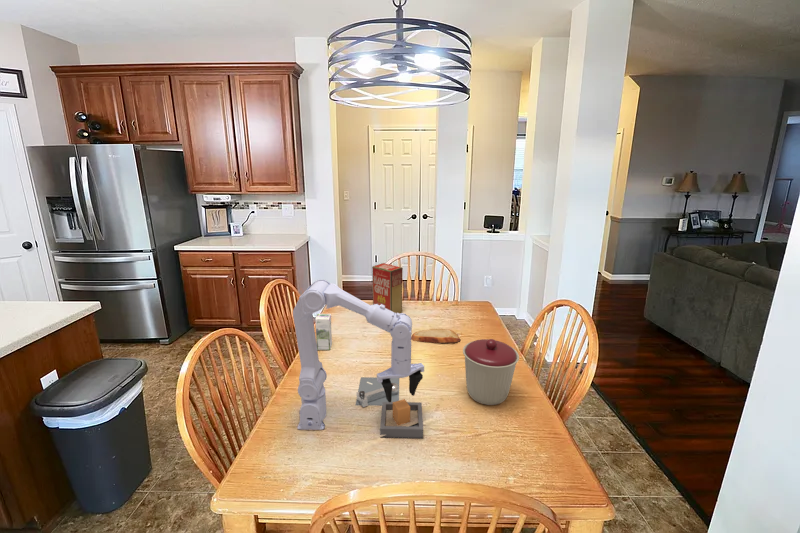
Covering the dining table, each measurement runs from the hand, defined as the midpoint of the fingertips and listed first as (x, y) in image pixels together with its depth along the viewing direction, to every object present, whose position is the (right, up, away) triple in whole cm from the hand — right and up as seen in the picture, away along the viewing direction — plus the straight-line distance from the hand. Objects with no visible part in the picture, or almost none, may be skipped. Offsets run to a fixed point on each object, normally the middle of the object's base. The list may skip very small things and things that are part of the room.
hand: (400, 396), depth 113 cm
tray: (0, -9, +2) cm, 9 cm away
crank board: (-7, -5, +17) cm, 19 cm away
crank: (-7, -5, +13) cm, 15 cm away
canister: (+30, -5, +17) cm, 34 cm away
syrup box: (-32, +4, +48) cm, 58 cm away
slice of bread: (+16, +6, +57) cm, 59 cm away
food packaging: (-7, +15, +84) cm, 86 cm away
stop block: (0, -8, +3) cm, 9 cm away
